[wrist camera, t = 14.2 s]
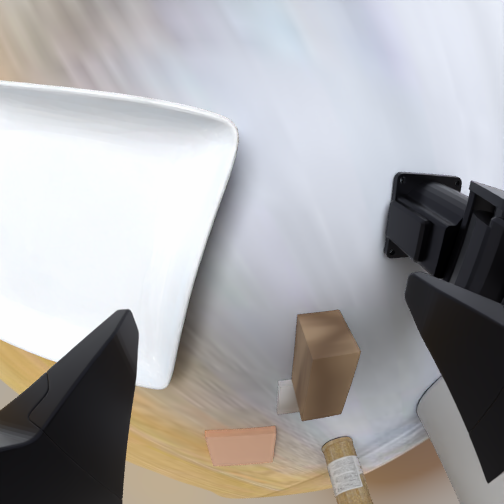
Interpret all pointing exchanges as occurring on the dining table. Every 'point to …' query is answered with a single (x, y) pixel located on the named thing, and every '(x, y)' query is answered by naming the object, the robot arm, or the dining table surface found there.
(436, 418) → the cylinder vase
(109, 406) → the robot arm
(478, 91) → the dining table surface
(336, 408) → the tall cardboard box
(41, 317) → the salad plate
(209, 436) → the ceramic tile
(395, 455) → the dining table surface
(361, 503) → the sprinkles bottle
